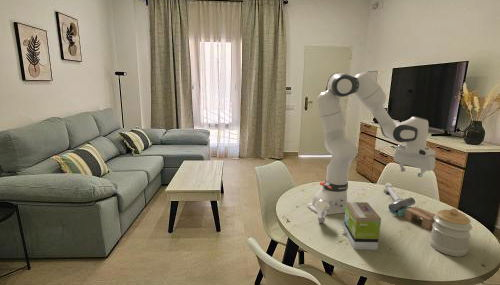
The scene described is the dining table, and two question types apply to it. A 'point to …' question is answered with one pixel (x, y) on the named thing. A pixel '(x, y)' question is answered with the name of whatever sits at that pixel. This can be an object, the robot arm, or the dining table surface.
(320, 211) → the light bulb
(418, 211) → the bearing block
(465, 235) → the jar
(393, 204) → the axle
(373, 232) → the tea box
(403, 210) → the u channel
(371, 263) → the dining table surface
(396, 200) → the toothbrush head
